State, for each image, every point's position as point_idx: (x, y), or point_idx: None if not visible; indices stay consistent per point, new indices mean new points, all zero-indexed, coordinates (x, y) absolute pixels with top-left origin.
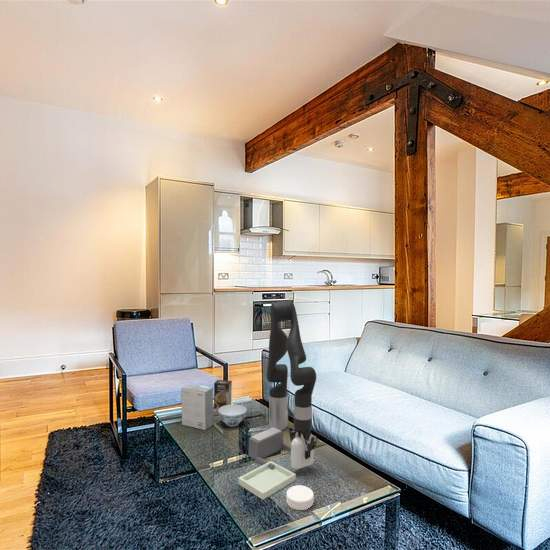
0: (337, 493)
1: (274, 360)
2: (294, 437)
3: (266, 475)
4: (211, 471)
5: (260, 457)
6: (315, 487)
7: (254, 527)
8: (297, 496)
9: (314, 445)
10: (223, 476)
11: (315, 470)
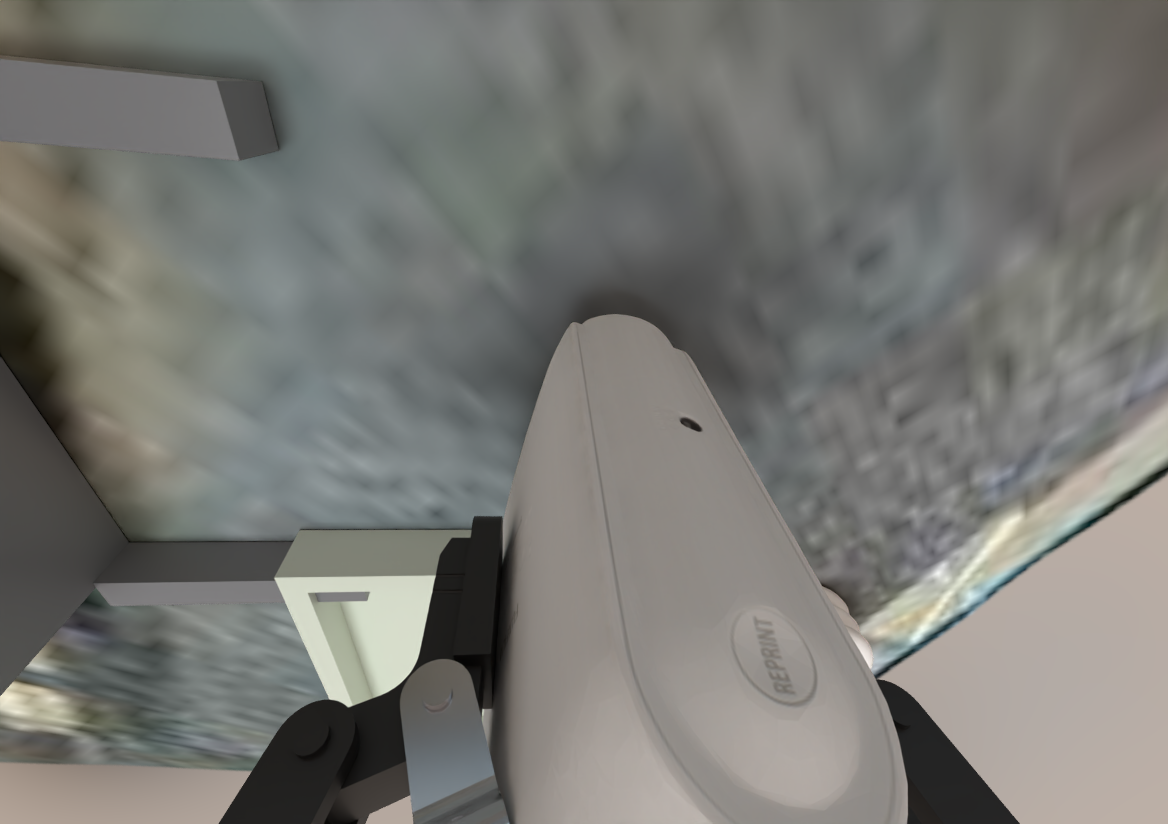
0: (993, 457)
1: None
2: (289, 820)
3: (416, 627)
4: (138, 743)
5: (94, 541)
6: (801, 502)
7: None
8: None
9: (969, 801)
10: (239, 729)
11: (692, 303)
